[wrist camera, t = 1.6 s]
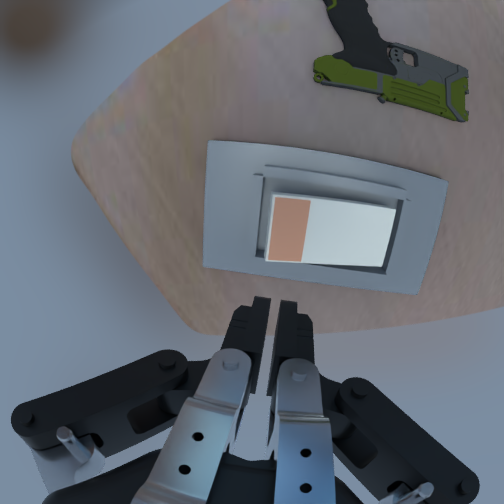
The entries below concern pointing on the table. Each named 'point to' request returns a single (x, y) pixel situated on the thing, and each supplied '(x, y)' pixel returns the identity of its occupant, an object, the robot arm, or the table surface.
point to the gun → (390, 66)
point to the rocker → (327, 230)
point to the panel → (323, 185)
